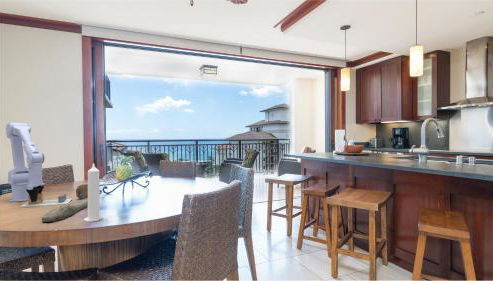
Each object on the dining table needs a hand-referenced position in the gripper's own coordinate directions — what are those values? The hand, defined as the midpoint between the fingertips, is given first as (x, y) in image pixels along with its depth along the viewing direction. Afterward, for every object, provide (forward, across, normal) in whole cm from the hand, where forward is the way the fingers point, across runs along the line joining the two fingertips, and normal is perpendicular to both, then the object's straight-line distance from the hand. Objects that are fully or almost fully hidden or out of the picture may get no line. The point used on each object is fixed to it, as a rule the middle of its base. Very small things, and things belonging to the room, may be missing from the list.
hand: (35, 200), depth 146 cm
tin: (+2, +10, -22) cm, 25 cm away
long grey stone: (+2, -23, -22) cm, 32 cm away
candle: (+2, -40, -35) cm, 53 cm away
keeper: (+2, 0, 0) cm, 2 cm away
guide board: (+2, 0, -6) cm, 6 cm away
